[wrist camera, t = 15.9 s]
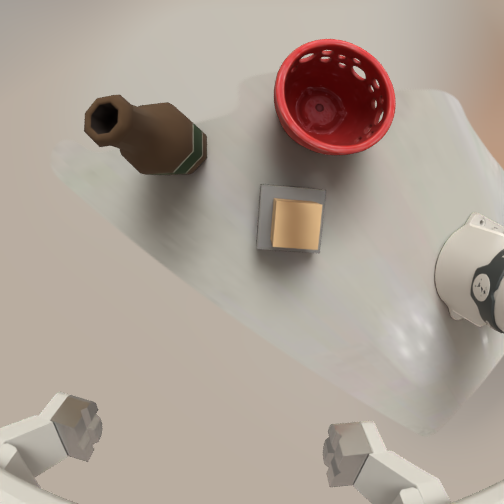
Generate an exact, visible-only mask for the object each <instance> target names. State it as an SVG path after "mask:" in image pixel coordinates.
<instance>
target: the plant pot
mask: <svg viewBox="0 0 504 504" xmlns="http://www.w3.org/2000/svg"><path fill="white" fill-rule="evenodd" d="M324 50H332V51H324ZM310 53H313V55H311V56H309V57H307V58H303V59H301V58H302V57H303V56H304V55H307V54H310ZM340 55H343V56H340ZM344 56H345V57H344ZM321 57H330V58H328V59H321ZM355 58H356V59H358V60H359V61H360V62H359V61H357V60H356V59H355ZM340 63H344V64H345V65H341V64H340ZM353 66H357V67H359V68H360V69H362V70H363V71H364V73H365V75H366V79H363V78H362V77H360V76H359V75H358V74H357V73H356V72H355V71H354V69H353ZM376 80H377V81H378V83H379V86H378V85H377V83H376ZM371 86H372V87H373V89H374V92H373V91H372V89H371ZM375 100H376V101H377V107H376V108H375ZM274 104H275V109H276V113H277V115H278V118H279V120H280V123H281V125H282V127H283V129H284V130H285V132H286V133H287V134H288V135H289V137H291V138H292V139H293V140H294V141H295V142H296V143H298V144H299V145H301V146H303V147H305V148H307V149H309V150H312V151H314V152H317V153H321V154H326V155H347V154H353V153H358V152H361V151H364V150H366V149H368V148H370V147H372V146H373V145H375V144H376V143H377V142H378V141H379V140H381V139H382V138H383V136H384V135H385V134H386V132H387V131H388V129H389V128H390V126H391V123H392V121H393V118H394V113H395V104H396V103H395V93H394V89H393V85H392V83H391V81H390V78H389V76H388V74H387V72H386V71H385V69H384V68H383V66H382V65H381V64H380V63H379V62H378V61H377V60H376V59H375V58H374V57H373V56H372V55H371V54H369V53H368V52H367V51H365V50H364V49H362V48H360V47H358V46H356V45H354V44H351V43H349V42H346V41H342V40H335V39H320V40H315V41H312V42H308V43H306V44H303V45H301V46H300V47H298V48H297V49H295V50H294V51H293V52H292V53H291V54H290V55H289V56H288V57H287V58H286V59H285V60H284V62H283V63H282V65H281V67H280V69H279V71H278V74H277V77H276V81H275V87H274ZM382 112H383V117H382V119H381V121H380V122H379V118H380V115H381V113H382ZM378 122H379V123H378ZM369 130H370V131H369ZM368 131H369V132H368Z"/></svg>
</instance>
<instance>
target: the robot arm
mask: <svg viewBox="0 0 504 504" xmlns="http://www.w3.org/2000/svg"><path fill="white" fill-rule="evenodd" d="M480 221H481V223H480ZM435 282H436V288H437V291H438V294H439V296H440V298H441V299H442V300H443V301H444V302H445V303H446V305H447V306H448V308H449V312H450V316H451V318H453V319H454V320H460V319H464V318H465V319H467V320H468V321H470V322H472V323H473V324H475V325H477V326H479V327H482V326H484V325H489V326H490V327H491V328H492V329H494V330H496V331H498V332H500V333H504V227H503V226H502V225H500V224H498V223H496V222H494V221H492V220H490V219H489V218H487V217H485V216H483V215H481V214H479V213H476V212H474V213H472V214H471V216H470V217H469V218H468V220H467V222H466V223H465V225H464V226H463V227H461V228H460V229H458V230H457V231H456V232H454V233H453V234H452V235H451V236H450V237H449V239H448V240H447V241H446V243H445V244H444V246H443V248H442V250H441V252H440V255H439V257H438V261H437V265H436V271H435ZM97 411H98V408H97V405H96V403H95V402H93V401H89V400H85V399H82V398H79V397H76V396H72V395H68V394H65V393H62V392H58V393H57V394H56V395H55V396H54V397H53V398H52V400H51V401H50V402H49V404H48V405H47V406H46V407H45V409H44V410H43V411H42V412H41V413H40V415H39V416H36V415H35V416H32V417H29V418H27V419H24V420H21V421H18V422H16V423H13V424H10V425H7V426H5V427H2V428H0V504H78V503H75V502H72V501H70V500H67V499H64V498H62V497H60V496H57V495H55V494H53V493H50V492H48V491H46V490H43V489H41V487H40V486H39V484H38V483H37V481H36V480H35V477H36V476H38V475H40V474H41V473H43V472H45V471H46V470H48V469H49V468H51V467H53V466H54V465H56V464H58V463H59V462H61V461H62V460H64V459H65V458H67V457H68V456H70V457H74V458H76V459H80V460H83V461H86V462H88V460H89V459H90V457H91V455H92V453H93V451H94V448H93V444H94V443H97V442H99V439H100V437H101V434H102V422H101V419H100V417H99V416H98V415H97V414H96V413H97ZM328 434H329V438H327V439H326V440H325V443H324V447H323V459H324V464H325V465H326V466H328V467H329V469H328V471H327V477H328V482H329V486H330V487H338V486H348V485H353V486H354V487H355V488H356V489H357V490H358V491H359V492H360V493H361V494H362V495H363V496H364V497H365V498H366V499H368V500H369V501H370V502H371V503H372V504H504V480H502V481H500V482H498V483H496V484H494V485H492V486H490V487H488V488H486V489H483V490H481V491H479V492H477V493H474V494H472V495H470V496H467V497H465V498H462V499H460V500H458V501H455V502H452V503H451V501H450V499H449V497H448V495H447V493H446V492H445V490H444V488H443V486H442V484H441V482H440V480H439V479H438V478H436V477H435V476H433V475H431V474H429V473H428V472H426V471H424V470H422V469H421V468H419V467H417V466H416V465H414V464H412V463H410V462H409V461H407V460H406V459H404V458H402V457H401V456H399V455H398V454H396V453H394V452H393V451H387V449H386V446H385V444H384V442H383V440H382V438H381V436H380V433H379V431H378V429H377V427H376V425H375V423H374V422H373V421H363V422H353V423H340V424H331V425H330V427H329V430H328Z"/></svg>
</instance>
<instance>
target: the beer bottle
mask: <svg viewBox="0 0 504 504" xmlns="http://www.w3.org/2000/svg"><path fill="white" fill-rule="evenodd" d="M84 131H85V133H86V134H87V135H88V136H89V137H90V138H91V139H92V140H93V141H94V142H95V143H96V144H97V145H99V147H103V146H114V147H117V148H119V149H120V152H121V155H122V156H123V157H124V158H125V159H126V160H127V161H128V162H129V163H130V164H131V165H132V166H133V167H134V168H136V169H137V170H138V171H139V172H140V173H142V174H145V175H178V174H192V173H193V172H194V171H195V170H196V169H197V168H198V167H199V165H200V164H201V163H202V162H203V161H204V160H205V159H206V158H207V136H206V135H205V134H204V133H203V132H202V131H201V130H200V129H199V128H198V127H197V126H196V125H195V124H194V123H193V122H191V121H190V120H189V119H188V118H187V117H186V116H185V115H184V114H182V113H181V112H180V111H179V110H178V109H177V108H176V107H175V106H173V105H172V104H170V103H158V104H150V105H142V106H138V107H136V106H133V105H131V104H130V103H129V102H127V101H126V100H125V99H124V98H123V97H122V96H121V95H112V96H107V97H102V98H97V99H96V100H95V101H94V103H93V104H92V105H91V107H90V108H89V109H88V110H87V111H86V113H85V125H84Z"/></svg>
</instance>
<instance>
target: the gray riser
mask: <svg viewBox="0 0 504 504" xmlns="http://www.w3.org/2000/svg"><path fill="white" fill-rule="evenodd" d="M325 196H326V190H320V189H311V188H301V187H289V186H277V185H264V184H261V188H260V202H259V216H258V230H257V249H264V250H278V251H293V252H308V253H320V246H321V237H322V227H323V218H324V207H325ZM274 198H279V199H291V200H303V201H313V202H316V203H319V204H322V215H321V225H320V234H319V244H318V250H312V249H297V248H283V247H273V245H272V242H271V239H270V237H271V225H272V212H273V199H274Z"/></svg>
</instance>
